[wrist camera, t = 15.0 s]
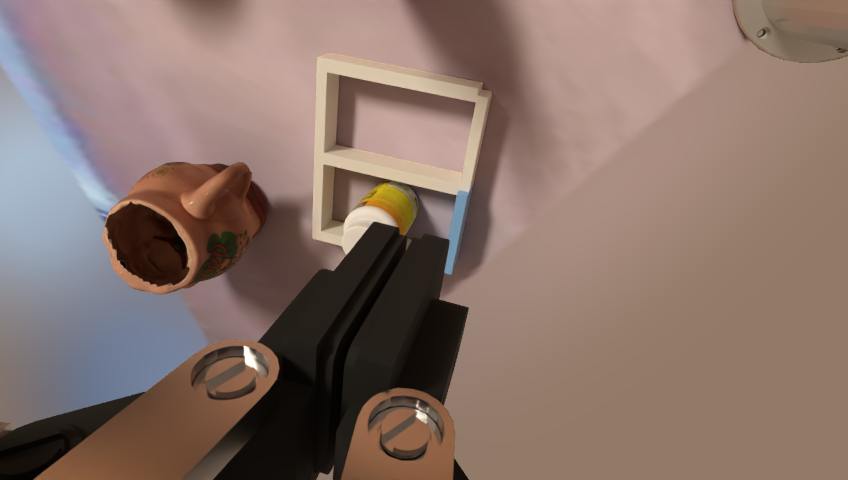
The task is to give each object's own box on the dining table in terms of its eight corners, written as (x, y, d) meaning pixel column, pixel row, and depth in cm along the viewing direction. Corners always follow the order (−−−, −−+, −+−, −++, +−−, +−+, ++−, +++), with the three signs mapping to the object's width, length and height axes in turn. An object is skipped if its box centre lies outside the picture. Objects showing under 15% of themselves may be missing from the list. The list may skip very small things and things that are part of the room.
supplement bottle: (386, 167, 50) (349, 205, 42) (429, 198, 51) (402, 242, 42) (362, 206, 53) (323, 249, 44) (403, 234, 54) (372, 283, 45)
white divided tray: (494, 84, 44) (488, 93, 40) (457, 260, 53) (450, 279, 50) (330, 52, 46) (312, 57, 43) (323, 226, 56) (308, 242, 52)
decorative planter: (234, 92, 51) (134, 125, 39) (322, 173, 52) (252, 228, 41) (163, 209, 61) (65, 264, 49) (239, 273, 62) (163, 341, 50)
